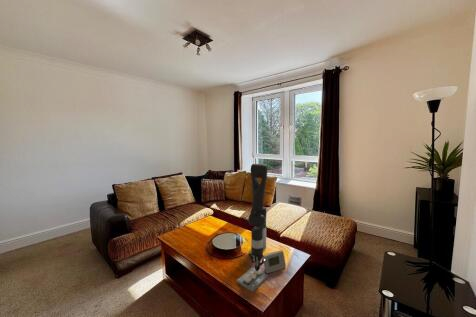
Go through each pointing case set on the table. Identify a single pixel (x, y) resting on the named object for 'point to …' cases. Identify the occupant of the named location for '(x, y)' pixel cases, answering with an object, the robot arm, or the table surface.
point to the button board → (253, 284)
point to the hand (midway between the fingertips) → (257, 270)
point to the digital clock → (274, 261)
